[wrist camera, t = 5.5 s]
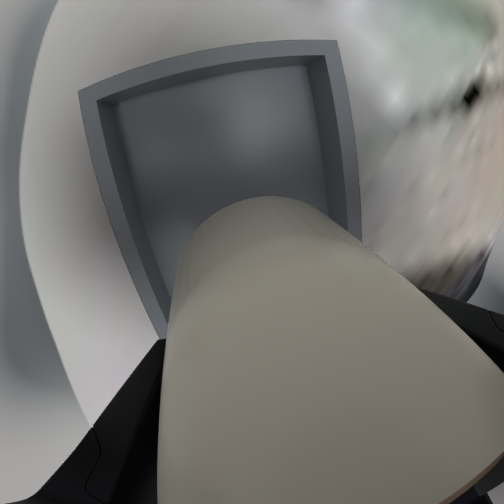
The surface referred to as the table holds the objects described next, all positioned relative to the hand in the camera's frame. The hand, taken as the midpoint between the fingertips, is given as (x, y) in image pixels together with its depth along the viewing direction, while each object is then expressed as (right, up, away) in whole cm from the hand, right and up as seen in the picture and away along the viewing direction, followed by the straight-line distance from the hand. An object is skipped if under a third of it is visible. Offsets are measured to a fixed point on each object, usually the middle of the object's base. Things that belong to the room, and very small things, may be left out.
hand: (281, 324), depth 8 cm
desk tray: (-1, +4, +8) cm, 9 cm away
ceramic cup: (0, +1, +2) cm, 2 cm away
